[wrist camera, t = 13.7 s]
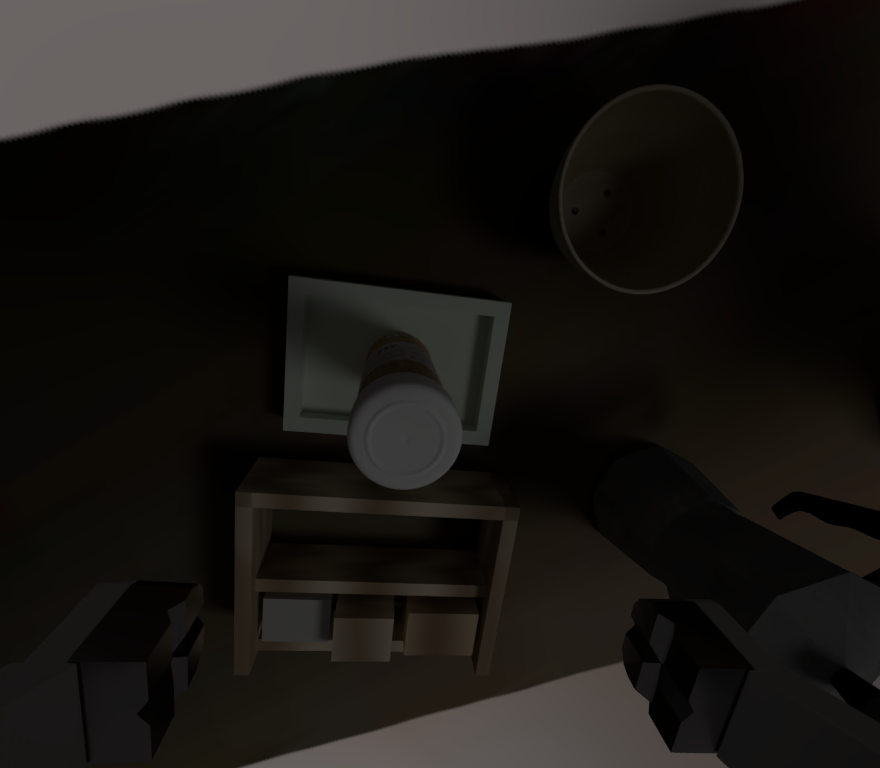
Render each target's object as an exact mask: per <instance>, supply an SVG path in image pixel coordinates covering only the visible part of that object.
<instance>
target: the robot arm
mask: <svg viewBox="0 0 880 768" xmlns="http://www.w3.org/2000/svg"><path fill="white" fill-rule="evenodd" d="M203 604H204V596H203V587H202V586H201V585H200V584H193V583H175V582H158V581H140V580H139V581H130V580H112V579H107V580H105V581H102V582H100V583H98V584H97V585H96V586H95V587H94V588H93V589H92V590H91V591H90V592H89V593H88V594H87V595H86V596H85V597H84V598H83V599H82V601H81V602H80V603H79V604H78V605H77V606H76V607H75V608H74V609H73V610H72V611H71V612H70V613H69V614H68V615H67V616H66V617H65V619H64V620H63V621H62V622H61V623H60V624H59V625H58V626H57V627H56V628H55V629H54V630H53V631H52V632H51V633H50V634H49V635H48V637H47V638H46V639H45V640H44V641H43V642H42V643H41V644H40V645H39V646H38V647H37V648H36V649H35V650H34V651H33V652H32V653H31V655H30V656H29V657H28V658H27V659H26V660H25V661H24V662H23V663H10V664H8V665H6V666H4V667H2V668H1V669H0V768H87V764H98V763H119V762H140V761H152V760H153V758H154V756H155V754H156V752H157V750H158V748H159V746H160V744H161V742H162V740H163V738H164V736H165V734H166V732H167V730H168V728H169V726H170V724H171V722H172V720H173V718H174V715H175V709H174V699H175V698H176V697H177V696H178V695H180V694H181V693H182V692H183V691H185V690H186V689H187V688H188V687H189V685H190V683H191V681H192V678H193V676H194V674H195V672H196V670H197V666H198V663H199V660H200V657H201V653H202V649H203V642H204V624H203V623H202V621H201V620H200V619H199V618H198V617H197V615H198V613H199V611H200V609H201V608H202V606H203ZM631 616H632V618H633V621H634V623H635V625H634V626H633V627H632V628H631V629H630V630H629V631H628V632H627V633H626V634H625V638H624V642H623V647H622V652H623V662H624V666H625V669H626V672H627V675H628V678H629V679H630V681H631V683H632V685H633V687H634V688H635V690H636V691H637V692H639V693H640V694H641V695H642V696H644V697H645V698H646V699H647V700H648V701H649V715H650V717H651V718H652V720H653V722H654V724H655V726H656V727H657V729H658V731H659V733H660V734H661V736H662V738H663V740H664V741H665V743H666V745H667V746H668V748H669V750H670V752H675V753H718V754H717V757H718V758H719V759H720V760H721V761H722V762H723V763H724V764H725V765H727V766H728V767H729V768H880V723H879V722H877V721H875V720H874V719H872V718H870V717H869V716H867V715H865V714H864V713H862V712H860V711H858V710H857V709H855V708H853V707H852V706H850V705H848V704H847V703H845V702H843V701H842V700H840V699H838V698H837V697H835V696H833V695H831V694H830V693H828V692H826V691H825V690H823V689H821V688H820V687H818V686H816V685H815V684H813V683H811V682H809V681H808V680H806V679H804V678H803V677H801V676H799V675H798V674H796V673H794V672H793V671H784V670H783V669H782V668H781V667H780V666H779V665H778V664H777V663H776V662H775V661H774V660H773V659H772V658H771V657H770V656H769V655H768V654H767V653H766V652H765V651H764V650H763V649H762V647H761V646H760V645H759V644H758V643H757V642H756V641H755V640H754V639H753V638H752V637H751V636H750V635H749V634H748V633H747V632H746V631H745V630H744V629H743V628H742V627H741V626H740V625H739V624H738V623H737V622H736V621H735V620H734V618H733V617H732V616H731V615H730V614H729V613H728V612H727V611H726V610H725V609H724V608H723V607H722V606H721V605H720V604H718V603H716V602H715V601H713V600H711V599H687V600H679V599H639V600H638V601H637V602H636V603H635V604H634V606H633V610H632V613H631Z"/></svg>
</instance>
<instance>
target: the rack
mask: <svg viewBox="0 0 880 768" xmlns="http://www.w3.org/2000/svg"><path fill="white" fill-rule="evenodd" d="M272 509H290V510H310V511H329V512H349V513H368V514H388V515H407V516H427V517H446V518H465V519H482V520H481V526H480V532H479V538H478V544H477V550H476V551H469V550H444V549H420V548H396V547H372V546H347V545H323V544H299V543H274V542H271V539H272ZM519 513H520V506H519V504H518V502H517V500H516V498H515V497H514V495H513V493H512V491H511V489H510V487H509V485H508V483H507V482H506V480H505V478H504V476H503V474H502V473H492V472H477V471H462V470H448V471H447V472H446V473H445V474H444V475H443V476H441V477H440V478H439V479H437V480H436V481H434V482H432V483H430V484H428V485H426V486H422V487H419V488H415V489H408V490H400V489H392V488H388V487H384V486H381V485H379V484H377V483H375V482H373V481H372V480H370V479H368V478H367V477H366V476H365V475H364V474H363V473H362V472H361V471H360V470H359V469H358V467H357V466H356V465H355V463H342V462H327V461H312V460H297V459H282V458H267V457H259V458H258V460H257V461H256V463H255V464H254V466H253V467H252V469H251V470H250V471H249V473H248V474H247V476H246V477H245V479H244V480H243V481H242V483H241V484H240V486H239V487H238V489H237V490H236V492H235V596H234V675H249V674H250V671H251V668H252V666H253V663H254V660H255V657H256V654H257V651H258V650H282V651H332V643H333V628H334V616H335V610H336V609H334V612H333V618H332V624H331V630H330V636H329V641H328V642H276V641H262V622H263V598H264V595H265V593H266V592H295V593H333V594H371V595H409V596H447V597H475V601H476V605H477V609H478V613H479V617H478V622H477V628H476V634H475V640H474V646H473V652H472V655H471V657H472V662H473V666H474V671H475V675H489V670H490V664H491V659H492V654H493V649H494V644H495V638H496V633H497V628H498V623H499V618H500V612H501V607H502V602H503V597H504V592H505V586H506V581H507V576H508V571H509V565H510V560H511V555H512V550H513V545H514V539H515V534H516V529H517V524H518V519H519ZM391 651H399V652H403V618H402V611H394V625H393V634H392V644H391Z"/></svg>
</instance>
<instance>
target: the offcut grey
mask: <svg viewBox="0 0 880 768" xmlns="http://www.w3.org/2000/svg"><path fill="white" fill-rule="evenodd" d="M335 599H336V594H333V593H295V592H266V593H265V595H264V598H263V622H262V641H276V642H328V641H329V636H330V630H331V624H332V618H333V612H334V606H335Z"/></svg>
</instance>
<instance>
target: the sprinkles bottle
mask: <svg viewBox="0 0 880 768" xmlns="http://www.w3.org/2000/svg"><path fill="white" fill-rule="evenodd" d="M462 435H463V432H462V424H461V419H460V416H459V413H458V411H457V408H456V406H455V404H454V402H453V400H452V398H451V396H450V395H449V393H448V392H447V391H446V390H445V389H444V388H443V385H442V383H441V381H440V378H439V376H438V374H437V372H436V369H435V367H434V365H433V362H432V360H431V357H430V355H429V352H428V350H427V348H426V347H425V345H424V344H423V343H422V342H421V341H420V340H419V339H417V338H415V337H413V336H411V335H408V334H402V333H394V334H390V335H387V336H384V337H383V338H381V339H379V340H378V341H376V342H375V344H374V345H373V346H372V347H371V348H370V350H369V352H368V355H367V357H366V361H365V367H364V370H363V374H362V378H361V382H360V386H359V390H358V396H357V398H356V400H355V403H354V405H353V407H352V410H351V414H350V418H349V423H348V429H347V443H348V449H349V452H350V455H351V457H352V459H353V461H354V463H355V465H356V466H357V467H358V469H359V470H360V471H361V472H362V473H363V474H364V475H365V476H366V477H367V478H368V479H370V480H372V481H373V482H375V483H377V484H379V485H381V486H384V487H388V488H392V489H400V490H408V489H415V488H419V487H422V486H426V485H428V484H430V483H432V482H434V481H436V480H437V479H439V478H440V477H441V476H443V475H444V474H445V473H446V472H447V471H448V470H449V469H450V467H451V466H452V465H453V463H454V462H455V460H456V458H457V456H458V454H459V451H460V448H461V444H462Z"/></svg>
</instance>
